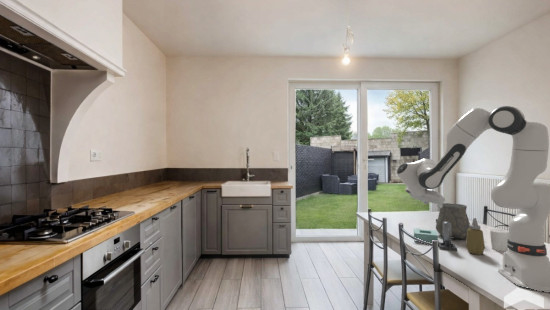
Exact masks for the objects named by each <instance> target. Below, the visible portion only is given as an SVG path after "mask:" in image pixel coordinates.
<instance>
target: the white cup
mask: <svg viewBox="0 0 550 310" xmlns="http://www.w3.org/2000/svg"><path fill="white" fill-rule="evenodd" d="M489 234H490V235H489V236H490V244H491V249H492V250H494V251H498V252H503V253H504V252H506V251H507V250H508V247H507V242H508V239H509V230H506V229H505V230H504V229H498V228H490V230H489Z"/></svg>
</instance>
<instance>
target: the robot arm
mask: <svg viewBox="0 0 550 310" xmlns="http://www.w3.org/2000/svg"><path fill="white" fill-rule="evenodd" d="M525 118H526V117H525V115H524V113H523V112H522V110H521V109H520V108H518V107H514V106H511V105H504V106H499V107H497V108H495V109H494V110H493V111H488V110H486V109H484V108H480V107H475V108H472V109H471V110H469V111H468V112H467V113H465V114H464V115H463V116H461V117H460V118H459V119H458V120H457V121H456V122H455V123H454V124H453V125H452V126H451V127H450V129H449V130H448V132H447V134H446V136H445V137H446V150H445V152H444V154H443V156H442V157H441V158H440V159H439V160H438V162H436V163H435V161H433V160H432V159H430V158H421V159H419V160H417V161H414V162H404V163H402V164H400V166H399V167H398V168H397V172H396V173H397V174H396V175H397V177H398V178H399V180H400V181H401V182H402V183H403V184H404V185H405V186H406V187H405V189H404V191H405V192H406V193H407V194H408V195H409V196H410V198H412V199H415V200H419V202H421V203H423V204H424V205H426V206H427V205H428V204H429V203H431V204H434V205H435V204H436V205H437V206H436V207H438V208H439V209H440V208H442V207H443V205H442V204H443V203H446V198H445V197H444V196H443V195H442V194H441V193H440V192H439V191H438V190H435V189H437V188H439V187H440V186H441V185H443V181H444V179H445V178H446V176H447V175H448V174H449V173H450V171H452V169H453V168H454V167H455V166H456V165H457V164H458V163H459V161H461V159H462V157H463V156H465V155H464V154H465V153H466V152H467V150H468V148H469V147H470V146H471V145H472V144H473V143H474V142H475V141H476V140H477V139H478V138H479V137H480V136H481V135H482V134H483V133H484V132H486V131H487V130H494V131H496V132H499V133H501V134H506V135H510V136H511V138H512V149H511V157H510V162H509V168H508V169H507V172H506V174H505V176H504V178H503V179H502V180H501V181H500V182H499V183H498V184H496V185H494V186H493V188H492V189H491V191H490V197H491V200H492V202H493V203H494V205H496V206H497V207H500V208H503V209H510V210H518V211H517V212H516V215H515V216H513V217H512V218H510V220H509V221H508V232H509V239H508V242H507V247H508V250H507V251H506V252H504V251H503V253H502V254H503V255H502V268H499V269H498V270H497V272H498V273H499V274H500V275H502V276H503V277H504V278H506V279H507V280H508V281H510V282H511V283H513V284H514V283H515V284H516V285H515V284H514V285H515V286H517V285H518V286H517V287H519V286H523V287H528V288H531V289H534V290H533V291H536V290H537V292H542V291H544V292H543V293H549V292H550V259H549V257H548V256H547V255H548V252H547V251H548V250H547V247H546V244H545V226H546V223H547V220H548V217H549V215H550V184H549V183H546V182H539V181H538V182H537V181H535V180H536V179H537V178H538V176H540V175H541V174H543V173H544V172H545V171H546V170H547V167H548V159H549V149H550V148H549V146H550V139H549V137H550V136H549V131H548V128H547V126H546V125H544V124H542V123H540V122H537V121H536V122H534V121H532V122H531V121H527V120H526V119H525ZM531 289H530V290H531Z"/></svg>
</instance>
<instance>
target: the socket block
mask: <svg viewBox="0 0 550 310" xmlns="http://www.w3.org/2000/svg"><path fill="white" fill-rule="evenodd" d="M414 237H416V238H419V239H421V240H423V241H426V242H430V243H432V240H438V241H439V236H438V231H437V230H436V229H435V230H433V229H422V228H421V229H420V228H413V238H414ZM413 240H414V239H413ZM415 242H416V243H418V242H417V241H415V240H414V243H415ZM430 243H429V244H430Z"/></svg>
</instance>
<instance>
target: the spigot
mask: <svg viewBox="0 0 550 310" xmlns="http://www.w3.org/2000/svg"><path fill="white" fill-rule="evenodd" d="M442 243H443V246H447V247H452V244H453V242H452V238H451V222H446V221H444V222H443V235H442Z"/></svg>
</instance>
